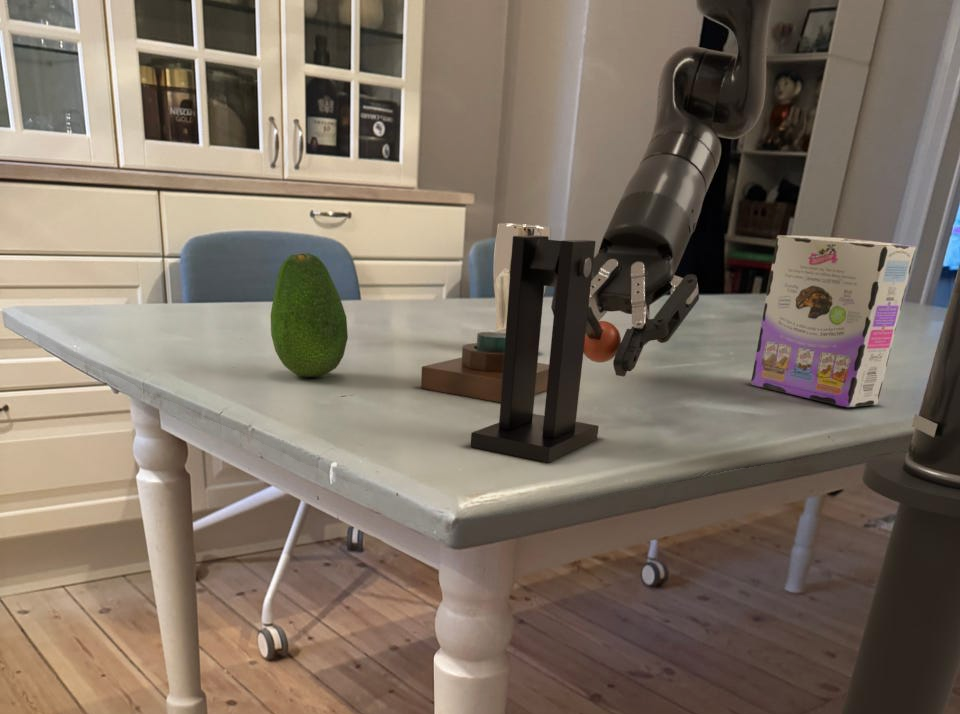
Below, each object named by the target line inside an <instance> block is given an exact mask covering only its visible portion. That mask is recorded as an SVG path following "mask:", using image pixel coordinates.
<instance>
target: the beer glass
mask: <svg viewBox="0 0 960 714" xmlns="http://www.w3.org/2000/svg"><path fill="white" fill-rule="evenodd" d="M551 233H552V227H551V226H548V225H537V224H529V223H527V224H524V223H512V222H511V223H510V222H509V223H508V222H498V223H497V229H496V237H495V244H494V250H493V251H494V252H493V269H492V272H493V275H492V276H493V291H494V300H495V301H494V302H495V313H496V314H495V315H496V316H495V319H496V321H495V329H494V332H497V333H505V334H506V323H507V310H508V296H509V283H510V269H511V255H512V242H513V236H537V235H539V236H548V237H549V239H548V240H552V239H551ZM546 288H547V286H544V293H545V292H546ZM544 296H545V294H544V295H543V297H544Z"/></svg>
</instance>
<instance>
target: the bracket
mask: <svg viewBox="0 0 960 714" xmlns="http://www.w3.org/2000/svg"><path fill="white" fill-rule="evenodd" d="M538 239H546V240H548V239H549V237H548V236H539V235H537V236H513V242H512V255H511V269H510V283H509V296H508V310H507V323H506V337H505V351H504V364H503V378H502V392H501V403H500V406H499V407H500V409H499V419H498V422H497V423H494V424H491V425H487V426H486V427H482V428H480V429H477V430H474V431H472V432H471V434H470V447H471V448H474V449H479V450H484V451H488V452H492V453H499V454H504V455H508V456H511V457H518V458H523V459H527V460H531V461H537V462H541V463H542V462H543V463H546V464H547V463H548V464H549V463H551V462H553V461H556V460H557V459H559V458H562V457H564V456H566V455H568V454H569V453H572V452H574V451H576V450H578V449H580V448H582V447H584V446H586V445H588V444H590V443H592V442H595V441H596V440H598V436H599V426H600V425H599V424H598V425H597V424H591V423H586V422H581V421H577V416H578V415H577V413H578V406H579V397H580V387H581V377H582V369H583V360H584V343H585V334H586V324H587V315H588V306H589V297H590V288H591V279H592V270H593V261H594V257H595V251H596V244H597V243H596V240H591V239H570V240H569V239H568V240H567V239H566V240H565V239H564V240H560V241H561V245H560V255H559V266H558V277H557V287H556V298H555V308H554V315H553V319H552V332H551V339H550V340H551V341H550V352H549V361H548V362H549V363H548V364H549V372H548V382H547V390H546V394H545V404H544V406H545V407H544V414H538V413H537V414H536V413H534V408H535V395H536V394H535V385H536V374H537V363H539V362H538V360H539V350H540V340H541V339H540V337H541V327H542V316H543V305H544V296H545V292H544V286H543V285H541V284H540V283H539V281H538V280H537V278H536V277H535V275H534V274H533V272H532V271H531V269H530V264H531V261H532V258H533V255H534V252H535V248H536V245H537V242H538ZM543 295H544V296H543Z"/></svg>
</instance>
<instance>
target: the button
mask: <svg viewBox="0 0 960 714" xmlns="http://www.w3.org/2000/svg"><path fill="white" fill-rule="evenodd" d="M505 337H506V334H505V333H497V332H495V331H481V332H478V333H477V335H476V343H477V349H478V350H483V351H491V352H504V351H505Z"/></svg>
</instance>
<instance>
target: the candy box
mask: <svg viewBox="0 0 960 714" xmlns="http://www.w3.org/2000/svg"><path fill="white" fill-rule="evenodd" d="M916 248H917V246H915V245H908V244H900V243H894V242H893V243H892V242H884V241H875V240H865V239H854V238H846V237H845V238H844V237H833V236H832V237H831V236H815V235H814V236H813V235H779V234H778V235H777V236H776V239H775V246H774V252H773V258H772V262H771V267H770V274H769V280H768V285H767V292H766V296H765V300H764V307H763V313H762V319H761V323H760V324H761V325H760V330H759V334H758V335H759V337H758V342H757V347H756V353H755V359H754V364H753V369H752V374H751V378H750V385H751V386H755V387H759V388H762V389H767V390H772V391H776V392H780V393H784V394H788V395H793V396H796V397H800V398H805V399H810V400H814V401H817V402H822V403H827V404H831V405H834V406H839V407H845V408H857V407H863V406H864V407H866V406H867V407H868V406H877V405H878V402H879V399H880V394H881V391H882V386H883V383H884V378H885V375H886V370H887V366H888V362H889V358H890V356H891V355H890V354H891V350H892V346H893V342H894V338H895V334H896V329H897V326H898V323H899V318H900V315H901V311H902V304H903V301H904V297H905V293H906V290H907V285H908V282H909V277H910V272H911V270H912V269H911V268H912V263H913V260H914V258H915V257H914V256H915V252H916Z"/></svg>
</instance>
